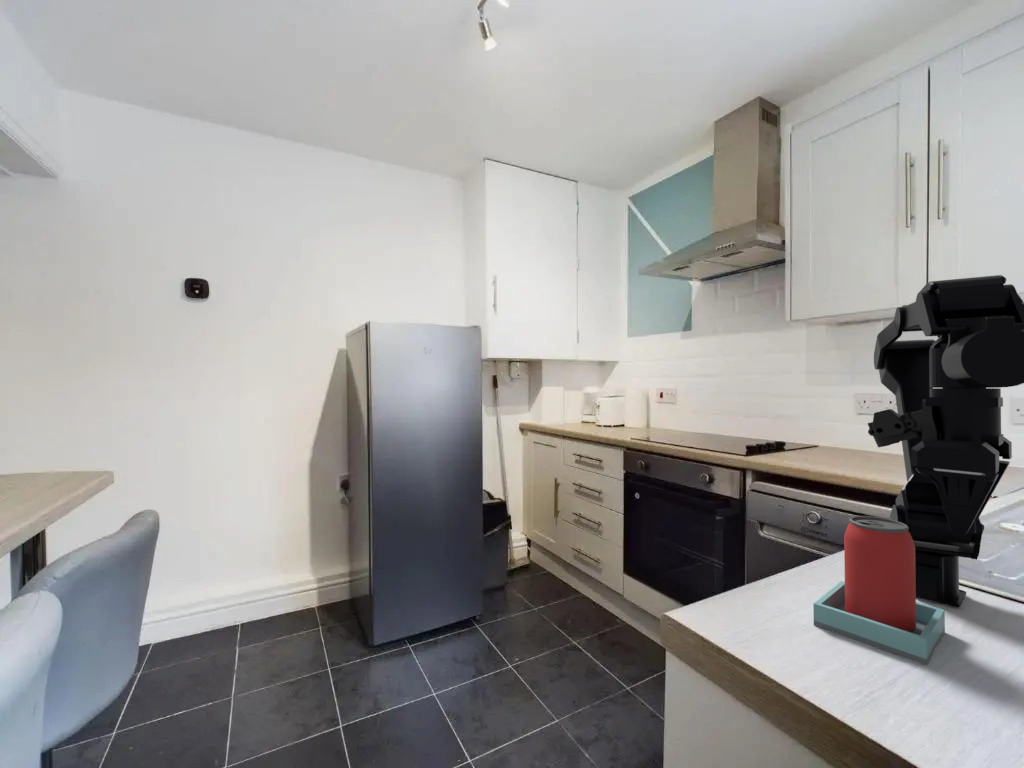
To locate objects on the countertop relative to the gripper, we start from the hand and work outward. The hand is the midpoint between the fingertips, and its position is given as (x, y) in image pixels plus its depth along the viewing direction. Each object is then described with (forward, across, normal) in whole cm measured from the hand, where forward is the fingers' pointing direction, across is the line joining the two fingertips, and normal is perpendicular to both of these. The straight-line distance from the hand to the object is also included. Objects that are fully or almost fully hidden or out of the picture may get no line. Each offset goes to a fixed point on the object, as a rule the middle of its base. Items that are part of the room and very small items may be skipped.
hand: (965, 526), depth 51 cm
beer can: (+13, +4, -7) cm, 15 cm away
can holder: (+13, +4, -7) cm, 15 cm away
